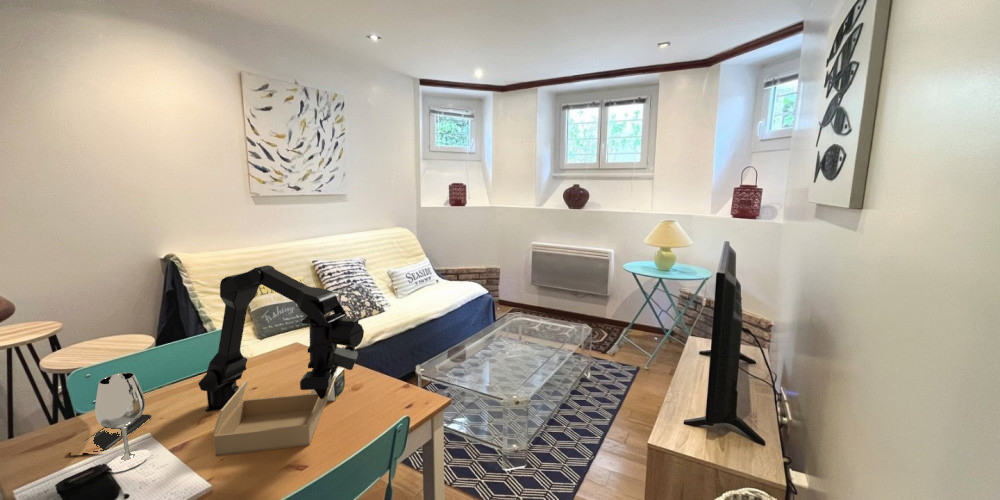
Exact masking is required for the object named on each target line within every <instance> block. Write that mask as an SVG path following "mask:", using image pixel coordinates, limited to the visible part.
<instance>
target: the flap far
mask: <svg viewBox="0 0 1000 500" xmlns="http://www.w3.org/2000/svg"><path fill="white" fill-rule="evenodd" d="M335 379H336V375H335V376H334V378H333V379H332V380H331V383H330V385H329V387H328V388H327V392H326V395H325V397H324V398H323V399H319V401H318V404H317V406H316V409H315V411H314V413H313V416H312V418H311V421H310V423H309V424H310V425H311V424H312V422H313V421H314V420H315V418H316V417H317V416H318V414H319V413H320V412H321V410H322V409H323V410H324V408H325V406H326V405H327V403H328V401H327V400H328V397H329V395H330V392H331V389H332V387H333V384H334V382H335Z"/></svg>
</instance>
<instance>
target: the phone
mask: <svg viewBox="0 0 1000 500" xmlns="http://www.w3.org/2000/svg"><path fill="white" fill-rule="evenodd" d="M151 417H152V414H150V413H149V414H142V415H141V416H140V417H139V418H138V419H137V420H136V421H135V422H134V423H132V424H131V425H129V426H128V427H127V435H128V434H130V433H132V432H133V431H135V430H136V429H137V428H139V427H140V426H141V425H142V424H143V423H145V422H146V421H147V420H148V419H150V418H151ZM151 419H152V418H151ZM151 419H150V420H151ZM146 423H147V422H146ZM146 423H145V424H146ZM141 427H142V426H141ZM141 427H140V428H141ZM104 428H106V427H104V426H103V428H101V429H100V430H98V431H96V432H95V433H94V434H92V435H91V436H90V437H92V436H94V435H95V434H96V435H95V437H94V440H93V441H94V444H96V446H97V445H99V446H100V448H102V449H103V450H100V451H104V450H107V449H109V448H110V447H112V446H113V445H115V444H116V443H117V442H118V441H120V440H121V439H122V438H123V436H122V432H121V436H119V435H120V434H118V432H117V434H116V433H113V434H112V433H111V434H112V435H111V434H109V432H107V431H106V432H107V433H106V432H105V430H104V431H102V432H100V431H101V430H103V429H104ZM140 428H139V429H140ZM137 430H138V429H137ZM137 430H136V431H137ZM136 431H135V432H136ZM133 433H134V432H133ZM133 433H132V434H133ZM117 435H118V436H117ZM88 439H89V437H87V439H85V440H84V441H86V440H88ZM97 447H98V446H97ZM93 452H98V451H93Z"/></svg>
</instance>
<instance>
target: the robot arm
mask: <svg viewBox="0 0 1000 500" xmlns="http://www.w3.org/2000/svg"><path fill="white" fill-rule="evenodd" d="M261 285H262V286H264V287H265V288H268V289H270V290H271V291H273V292H275V293H277V294H278V295H280V296H283V297H285V298H287V299H289V300H291V301H292V302H294V303H295V304H297V307H298V310H299V311H300V312H302V313H303V314H305V315H306V317H305V318H303V319H302V320H301V324H303V325H304V324H305V325H309V346H308V348H307V353H308V354H309V362H308V364H307V369H311V371H310V370H309V371H306V373H305V374H303V376H302V378H301V379H300V381H299V389H300V390H302V391H309V390H310V391H311V390H313V389H314V390H315V391H316V393H317V394H318V396H319V398H320V399H323V398H324V397H325V395H326V392H327V388H328V387H329V385H330V383H331V380H332V378H333V376H334V373H335V371H336V369H337V367H334V364H335V365H336V366H338V367H339V368H344V369H346V370H347V371H352V370H354V366H355V363H356V362H357V358H358V355H359V352H358V350H356V348H357V347H359V345H360V344H361V343H362V341H363V338H364V334H365V332H364V331H365V330H364V328H363V325H362V324H360V323H359V319H358V318H346V317H348V314H347V312H346V311H345V309H344V307H343V306H342V304H341V303H340V301H339V300H338V298H337V294H335V292H333V291H331V290H330V289H329V290H328V289H325V288H323V287H314V286H309V285H307V284H305V283H303V282H300V281H299V280H296V279H294V278H292V277H291V276H288V275H287V274H285V273H283V272H282V271H280V270H278V269H275V267H274V266H272V265H268V264H267V265H261V266H258V267H253V268H252V269H250V270H249V271H246V272H242V273H237V274H234V275H229V276H225V277H224V278H222V279H221V280H220V283H219V297H220V299H221V300H222V302H223V303H224V305H225V306H224V313H223V319H222V326H221V332H220V338H219V345H218V350H217V352H216V354H214V356H213V358H211V360H210V362H209V364H208V367H207V370H206V374H205V375H204V376H203V377H202V378H201V379H200V380H199V381H198V386H199V389H200V391H204V392H206V398H207V407H206V408H205V410H204V411H205V412H213V411H214V412H215V411H221V409H222V408H223V407H224V406H225V405H226V403H227V402H228V401H229V400H230V399H231V398H232V396H233V395H234V394H235V393H236V392H237V390H238V389H239V388H240V387H239V385H237V381H238V380H241V379H242V376H243V373H244V372H245V371H246V370H247V362H248V358H247V357H244V355H243V353H242V352H241V347H242V339H243V333H244V329H245V322H246V318H247V311H248V308H249V307H248V306H249V305H250V303H252V301H253V300H254V298H255V297H256V296H257V292H258V289H259V287H260V286H261ZM331 313H332V314H331ZM328 314H330V315H328ZM326 315H327V316H326ZM339 345H340V346H342V347H340V346H339Z"/></svg>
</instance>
